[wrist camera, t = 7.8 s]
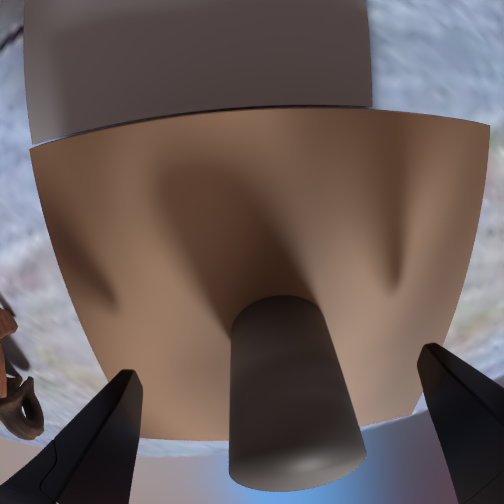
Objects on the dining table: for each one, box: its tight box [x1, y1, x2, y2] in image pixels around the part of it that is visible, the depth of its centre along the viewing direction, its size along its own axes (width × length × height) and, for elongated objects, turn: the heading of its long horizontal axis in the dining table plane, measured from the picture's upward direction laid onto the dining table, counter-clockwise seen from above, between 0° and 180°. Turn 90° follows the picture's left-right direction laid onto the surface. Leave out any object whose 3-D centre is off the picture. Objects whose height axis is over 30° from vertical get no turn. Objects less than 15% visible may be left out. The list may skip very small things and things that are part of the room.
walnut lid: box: [29, 108, 490, 492], centre depth 9 cm, size 14×14×6 cm
